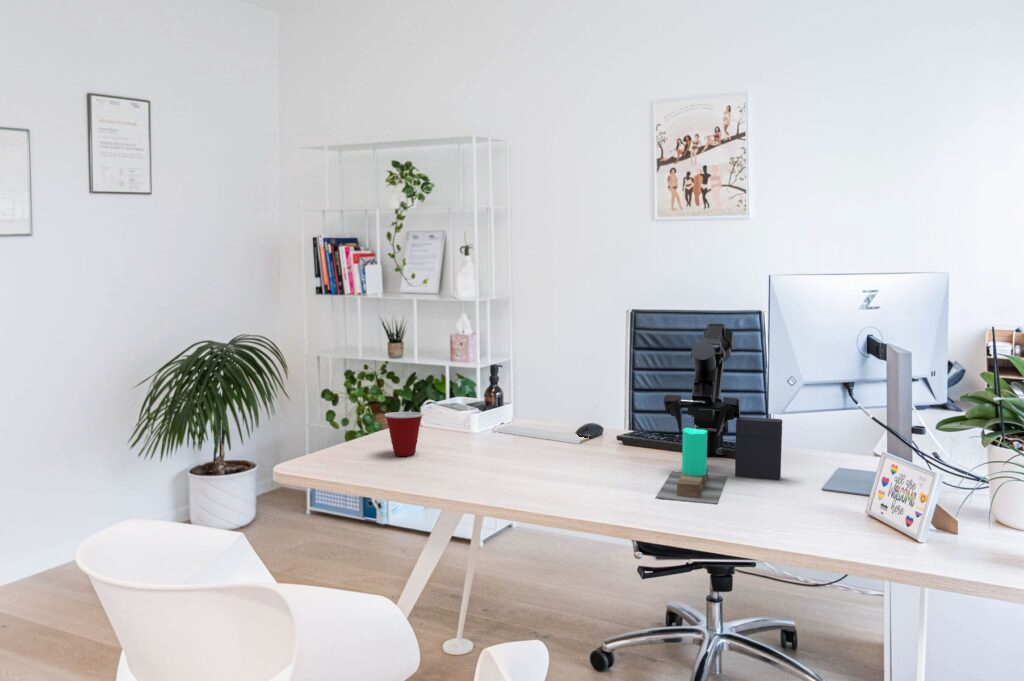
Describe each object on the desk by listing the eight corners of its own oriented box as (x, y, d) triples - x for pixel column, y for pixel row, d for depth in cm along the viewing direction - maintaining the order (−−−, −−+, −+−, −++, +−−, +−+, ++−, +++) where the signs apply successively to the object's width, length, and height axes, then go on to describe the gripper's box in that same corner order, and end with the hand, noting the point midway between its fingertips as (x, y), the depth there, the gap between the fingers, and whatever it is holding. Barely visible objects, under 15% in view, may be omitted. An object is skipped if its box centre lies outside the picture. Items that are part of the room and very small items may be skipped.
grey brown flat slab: (671, 472, 226) (672, 459, 225) (727, 477, 221) (727, 464, 221) (655, 498, 203) (655, 484, 203) (717, 504, 199) (717, 490, 198)
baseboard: (575, 447, 256) (592, 440, 264) (575, 437, 256) (592, 431, 264) (491, 434, 273) (509, 429, 281) (491, 425, 272) (509, 420, 281)
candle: (676, 471, 214) (677, 423, 213) (695, 468, 217) (696, 420, 216) (693, 477, 209) (694, 428, 207) (712, 473, 212) (713, 425, 210)
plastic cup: (425, 449, 252) (424, 408, 250) (422, 459, 241) (421, 416, 239) (387, 450, 251) (386, 409, 250) (383, 459, 240) (382, 416, 239)
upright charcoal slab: (780, 476, 221) (782, 418, 219) (780, 481, 217) (781, 421, 215) (736, 473, 225) (737, 415, 223) (734, 477, 221) (736, 419, 219)
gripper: (742, 402, 231) (738, 453, 222) (671, 398, 237) (664, 447, 228) (741, 377, 222) (736, 429, 214) (667, 374, 229) (660, 425, 220)
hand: (698, 434), depth 219 cm, fingers open, 9 cm apart
